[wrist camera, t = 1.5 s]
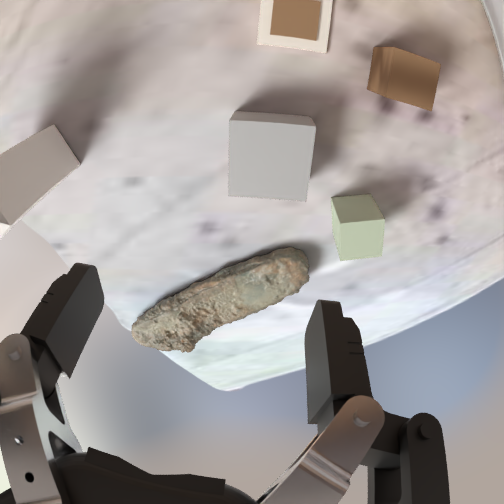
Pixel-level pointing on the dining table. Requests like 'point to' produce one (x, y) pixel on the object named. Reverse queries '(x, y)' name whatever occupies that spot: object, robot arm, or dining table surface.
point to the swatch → (295, 24)
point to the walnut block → (403, 76)
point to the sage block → (357, 227)
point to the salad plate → (496, 24)
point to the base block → (270, 155)
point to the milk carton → (32, 174)
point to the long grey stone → (221, 300)
